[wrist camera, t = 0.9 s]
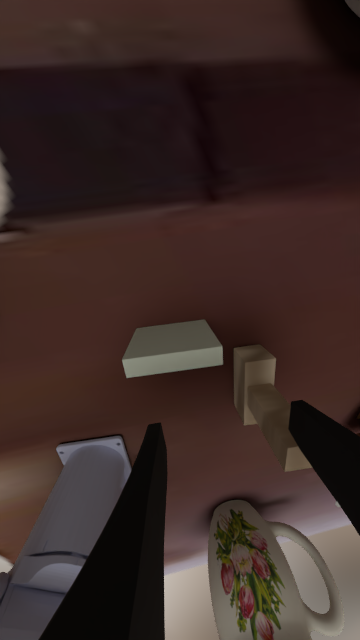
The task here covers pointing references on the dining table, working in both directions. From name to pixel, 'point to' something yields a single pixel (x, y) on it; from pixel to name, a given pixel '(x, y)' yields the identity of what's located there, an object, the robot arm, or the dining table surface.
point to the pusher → (265, 404)
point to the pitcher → (262, 580)
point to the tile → (172, 349)
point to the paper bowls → (354, 6)
